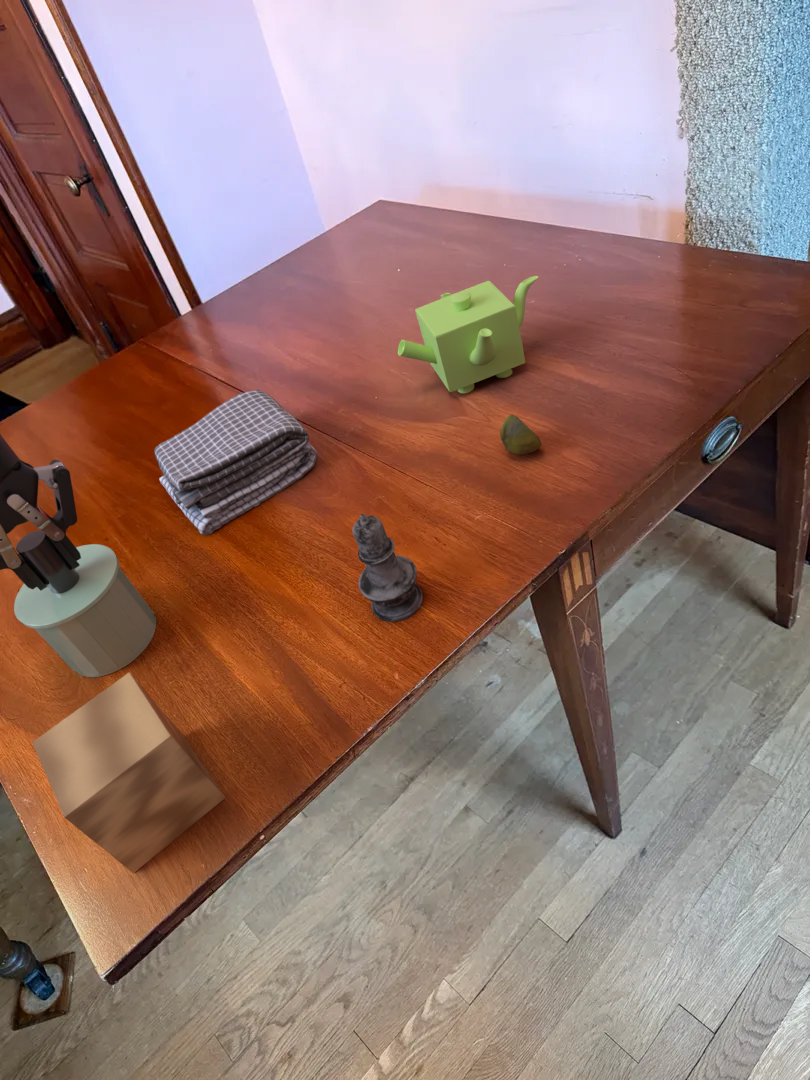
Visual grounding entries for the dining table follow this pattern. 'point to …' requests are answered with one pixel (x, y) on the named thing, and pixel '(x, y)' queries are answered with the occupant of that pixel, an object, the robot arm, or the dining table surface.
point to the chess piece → (385, 572)
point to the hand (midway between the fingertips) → (58, 573)
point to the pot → (105, 632)
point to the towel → (234, 459)
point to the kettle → (471, 335)
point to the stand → (126, 774)
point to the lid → (62, 581)
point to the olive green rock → (518, 436)
